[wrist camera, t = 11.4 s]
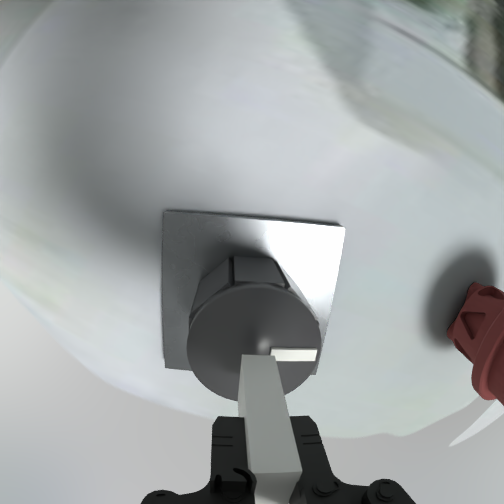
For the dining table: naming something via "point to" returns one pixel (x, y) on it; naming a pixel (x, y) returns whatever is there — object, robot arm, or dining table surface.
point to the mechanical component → (482, 339)
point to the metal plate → (247, 245)
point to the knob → (251, 325)
